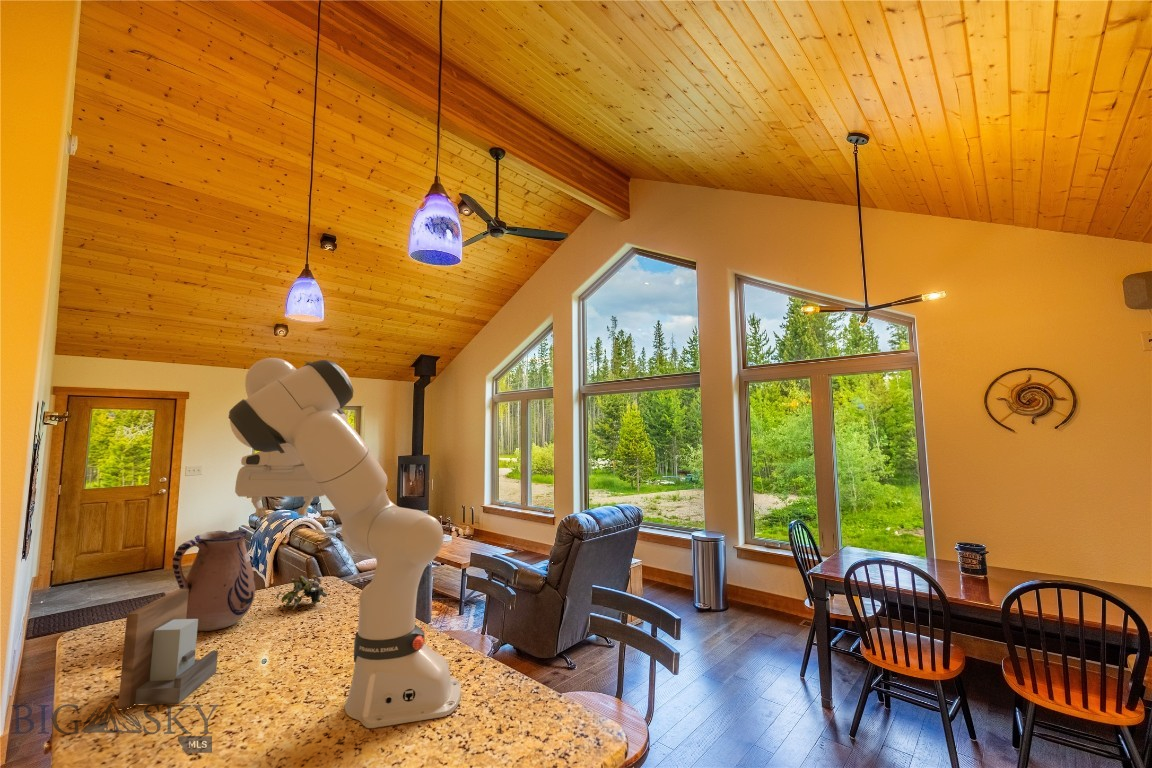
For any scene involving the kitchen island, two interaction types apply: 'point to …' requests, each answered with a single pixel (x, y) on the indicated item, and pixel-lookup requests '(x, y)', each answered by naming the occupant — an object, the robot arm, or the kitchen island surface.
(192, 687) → the wall board
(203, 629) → the ceramic pitcher
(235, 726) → the kitchen island surface
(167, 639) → the grey box with notch
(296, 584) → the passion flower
